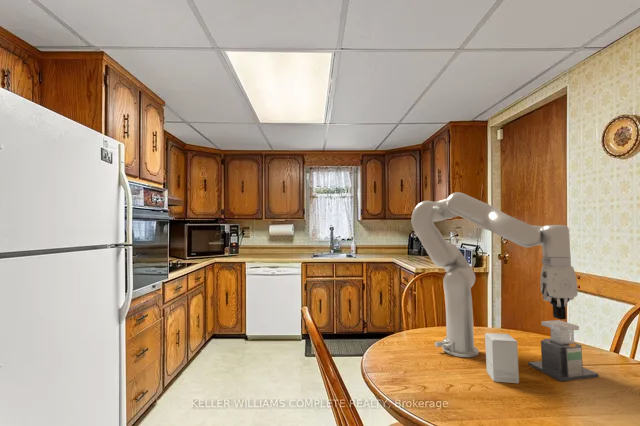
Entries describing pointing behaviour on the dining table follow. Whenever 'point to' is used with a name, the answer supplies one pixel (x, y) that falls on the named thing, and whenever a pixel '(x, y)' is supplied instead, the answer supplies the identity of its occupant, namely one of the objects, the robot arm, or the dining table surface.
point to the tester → (562, 362)
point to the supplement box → (502, 357)
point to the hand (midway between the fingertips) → (559, 318)
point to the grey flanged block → (561, 331)
